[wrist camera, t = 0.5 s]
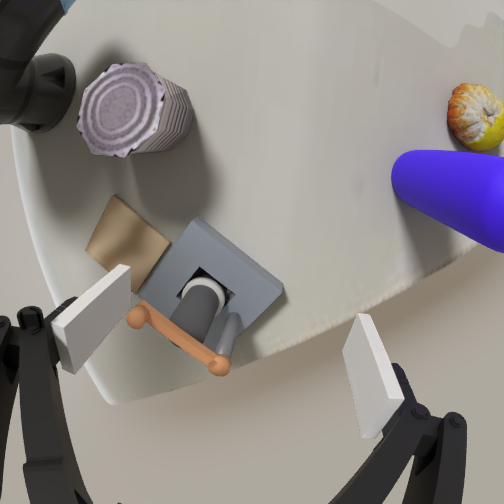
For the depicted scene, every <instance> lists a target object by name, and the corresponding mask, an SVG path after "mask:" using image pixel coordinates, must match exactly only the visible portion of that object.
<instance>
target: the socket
mask: <svg viewBox="0 0 504 504" xmlns="http://www.w3.org/2000/svg"><path fill="white" fill-rule="evenodd" d="M199 266H200V267H201V268H202V269H203V270H205V271H206V272H207V273H209V274H210V275H211V276H212V277H214V278H215V279H216V280H218V281H219V282H220V283H221V284H223V285H224V286H225V287H227V288H228V289H229V290H230V291H232V292H233V293H232V294H231V295H230V296H229V297H228V298H227V299H226V301H225V303H224V306H223V308H222V310H221V312H220V313H219V314H218V315H217V316H215V317H214V319H213V321H212V324H211V326H210V328H209V331H208V333H207V336H206V338H205V340H204V343H203V345H204V346H206V347H207V348H208V349H210V350H211V351H213V352H214V353H216V354H223V355H225V356H227V357H228V358H229V359H230V357H231V353H232V349H233V346H234V342H235V339H236V338H237V337H238V336H239V335H240V334H241V333H242V332H243V331H244V330H245V329H246V328H247V327H248V326H249V325H250V324H251V323H252V322H253V321H254V320H255V319H256V318H257V317H258V316H259V315H260V314H261V313H262V312H263V311H264V310H265V309H266V308H267V307H268V306H269V305H270V304H271V303H272V302H273V301H274V300H275V299H276V298H277V297H278V296H279V295H280V294H281V293H282V287H283V283H282V282H280V281H279V280H278V279H276V278H275V277H274V276H273V275H271V274H270V273H269V272H268V271H266V270H265V269H264V268H263V267H261V266H260V265H259V264H258V263H256V262H255V261H254V260H253V259H251V258H250V257H249V256H248V255H246V254H245V253H244V252H243V251H241V250H240V249H239V248H238V247H236V246H235V245H234V244H233V243H231V242H230V241H229V240H228V239H226V238H225V237H224V236H223V235H221V234H220V233H219V232H218V231H216V230H215V229H214V228H213V227H211V226H210V225H209V224H208V223H206V222H205V221H204V220H203V219H201V218H200V217H199V216H197V217H196V218H194V219H193V220H192V221H191V222H190V224H189V225H188V226H187V228H186V229H185V230H184V232H183V233H182V235H181V236H180V237H179V239H178V240H177V242H176V243H175V244H174V246H173V247H172V249H171V250H170V251H169V253H168V254H167V256H166V257H165V259H164V260H163V261H162V263H161V264H160V266H159V267H158V269H157V270H156V272H155V273H154V274H153V276H152V277H151V279H150V280H149V282H148V283H147V285H146V286H145V288H144V289H143V291H142V292H141V294H140V295H139V298H140V299H142V300H145V301H146V302H147V303H148V304H150V305H151V306H152V307H153V308H155V309H156V310H157V311H158V312H160V313H161V314H162V315H164V316H165V317H166V318H167V319H169V318H170V317H171V315H172V313H173V312H174V310H175V309H176V307H177V306H178V304H179V303H180V301H181V300H182V292H183V290H184V289H183V287H184V285H185V284H186V283H187V281H188V280H189V279H190V278H191V276H192V275H193V274H194V272H195V271H196V270H197V269H198V267H199Z"/></svg>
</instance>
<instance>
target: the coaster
mask: <svg viewBox="0 0 504 504" xmlns="http://www.w3.org/2000/svg"><path fill="white" fill-rule="evenodd" d="M170 242H171V241H169V240H168V239H167V238H166V237H165V236H163V235H162V234H161V233H160V232H158V231H157V230H156V229H155V228H154V227H152V226H151V225H150V224H149V223H148V222H146V221H145V220H144V219H143V218H142V217H140V216H139V215H138V214H137V213H136V212H134V211H133V210H132V209H131V208H130V207H129V206H127V205H126V204H125V203H124V202H123V201H121V200H120V199H119V198H118V197H117V196H116V195H113V196H112V198H111V200H110V202H109V204H108V205H107V207H106V209H105V211H104V213H103V215H102V217H101V219H100V221H99V223H98V225H97V227H96V229H95V231H94V233H93V235H92V237H91V239H90V241H89V243H88V245H87V247H86V249H85V251H86V252H87V253H88V254H89V255H90V256H91V257H92V258H94V259H95V260H96V261H97V262H98V263H99V264H100V265H101V266H102V267H104V268H105V269H106V270H107V271H108V272H110V271H112V270H113V269H114V268H115V267H117V266H118V265H119V264H122V265H126V266H130V267H131V292H133V293H134V294H136V293H137V291H138V290H139V288H140V287H141V285H142V284H143V282H144V281H145V279H146V278H147V276H148V275H149V273H150V272H151V270H152V269H153V267H154V266H155V264H156V263H157V261H158V260H159V258H160V257H161V255H162V254H163V252H164V251H165V249H166V248H167V247H168V245H169V244H170Z"/></svg>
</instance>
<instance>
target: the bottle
mask: <svg viewBox="0 0 504 504" xmlns="http://www.w3.org/2000/svg"><path fill="white" fill-rule="evenodd" d="M391 177H392V185H393V188H394V190H395V192H396V194H397V195H398V196H399V197H400V198H401V199H402V200H403V201H404V202H405V203H407V204H409V205H410V206H412V207H413V208H415V209H417V210H419V211H421V212H423V213H424V214H426V215H428V216H430V217H432V218H434V219H436V220H438V221H439V222H441V223H443V224H445V225H447V226H449V227H451V228H452V229H454V230H456V231H458V232H460V233H462V234H464V235H465V236H467V237H469V238H471V239H473V240H475V241H476V242H478V243H480V244H482V245H484V246H486V247H488V248H490V249H493V250H495V251H497V252H501V253H504V157H499V156H493V155H487V154H479V153H470V152H459V151H444V150H414V151H409V152H406V153H404V154H403V155H401V156H400V157H399V158H398V159H397V160H396V162H395V164H394V166H393V169H392V176H391Z"/></svg>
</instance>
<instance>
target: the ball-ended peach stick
mask: <svg viewBox="0 0 504 504" xmlns="http://www.w3.org/2000/svg"><path fill="white" fill-rule="evenodd" d="M126 320H127V323H128V324H129V326H131V327H132V328H134V329H140V328H141V327H142V326H143V324H144V323H145V322H147V323H149V324H150V325H151V326H152V327H154V328H155V329H156V330H158V331H159V332H160V333H162V334H163V335H164V336H166V337H167V338H168V339H170V340H171V341H172V342H174V343H175V344H176V345H178V346H179V347H181V348H182V349H183V350H185V351H186V352H188V353H189V354H190V355H192V356H193V357H195V358H196V359H198V360H199V361H200V362H202V363H203V364H205V365H206V366H208V370H209V371H210V372H211V373H212V374H214V375H216V376H225V375H227V374H228V373H229V370H230V366H231V361H230V359H229V358H228V357H227V356H225V355H223V354H216V353H214V352H213V351H211V350H210V349H208V348H207V347H206V346H204V345H203V344H201V343H200V342H198V341H197V340H196V339H194V338H193V337H192V336H190V335H189V334H187V333H186V332H185V331H183V330H182V329H181V328H179V327H178V326H177V325H175V324H174V323H173V322H171V321H170V320H169V319H167V318H166V317H165V316H164V315H162V314H161V313H160V312H158V311H157V310H156V309H155V308H153V307H152V306H151V305H150V304H148V303H147V302H146V301H145V300H142V301H141V302H140V303H139V305H136V306H135V307H134V308H133V309H132V311H131V312H130V313H129V314H128V315H127V317H126Z"/></svg>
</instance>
